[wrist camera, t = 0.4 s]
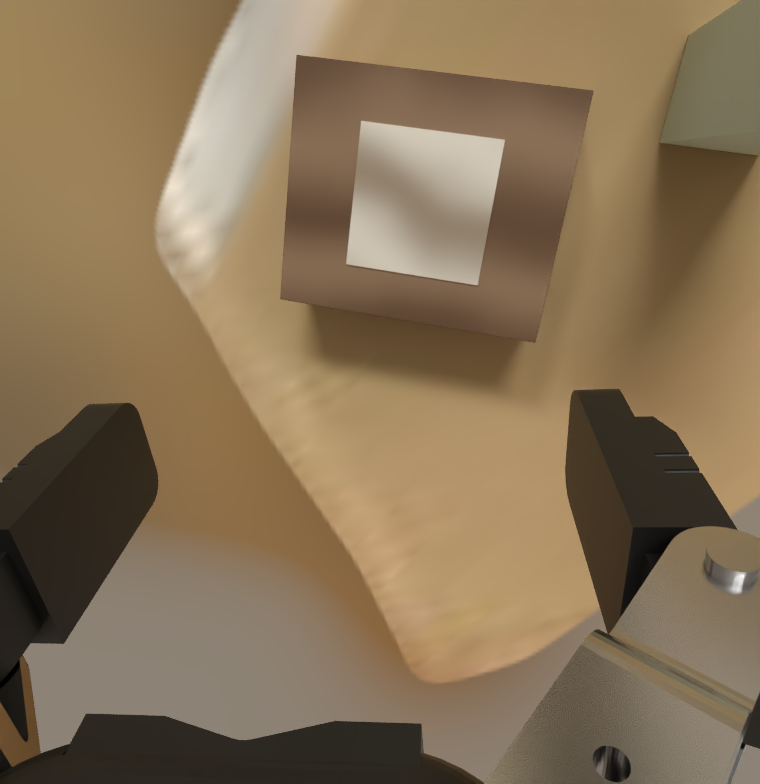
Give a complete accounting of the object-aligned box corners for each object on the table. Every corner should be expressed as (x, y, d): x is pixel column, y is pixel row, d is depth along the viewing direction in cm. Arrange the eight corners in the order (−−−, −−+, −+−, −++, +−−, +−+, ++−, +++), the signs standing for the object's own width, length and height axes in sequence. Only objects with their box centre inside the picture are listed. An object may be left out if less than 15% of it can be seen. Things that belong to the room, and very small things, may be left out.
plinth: (324, 69, 34) (295, 54, 29) (579, 100, 32) (593, 90, 28) (306, 282, 38) (279, 299, 34) (530, 320, 37) (535, 343, 32)
